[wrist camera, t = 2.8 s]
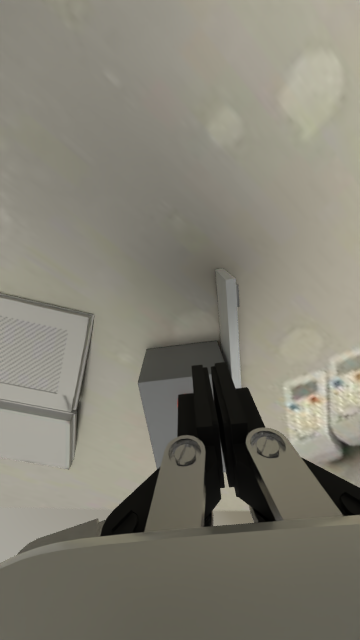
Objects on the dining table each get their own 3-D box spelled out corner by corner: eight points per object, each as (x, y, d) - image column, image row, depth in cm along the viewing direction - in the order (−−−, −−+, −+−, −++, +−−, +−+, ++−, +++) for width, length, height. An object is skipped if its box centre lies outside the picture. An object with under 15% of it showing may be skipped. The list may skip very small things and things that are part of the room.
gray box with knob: (146, 349, 27) (136, 387, 21) (216, 340, 27) (230, 376, 20) (165, 442, 32) (161, 497, 26) (225, 436, 32) (237, 490, 25)
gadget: (75, 460, 34) (63, 487, 31) (-37, 441, 33) (-62, 466, 29) (96, 312, 27) (84, 324, 23) (-48, 279, 25) (-84, 286, 22)
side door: (213, 269, 24) (223, 280, 19) (229, 267, 24) (243, 277, 19) (225, 424, 31) (235, 462, 26) (238, 422, 31) (250, 461, 25)
